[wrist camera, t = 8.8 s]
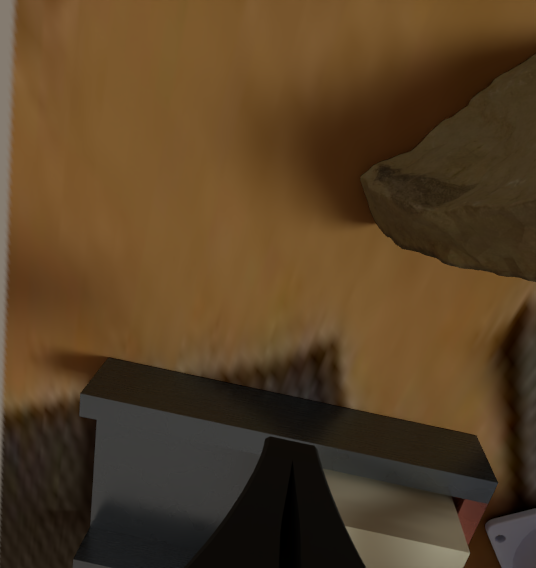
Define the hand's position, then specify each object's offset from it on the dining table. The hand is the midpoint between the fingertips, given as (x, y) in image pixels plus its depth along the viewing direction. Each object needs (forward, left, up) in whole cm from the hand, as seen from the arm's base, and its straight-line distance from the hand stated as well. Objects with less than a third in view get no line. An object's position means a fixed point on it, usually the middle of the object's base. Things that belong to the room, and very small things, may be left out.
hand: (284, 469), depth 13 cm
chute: (-8, +5, -9) cm, 14 cm away
